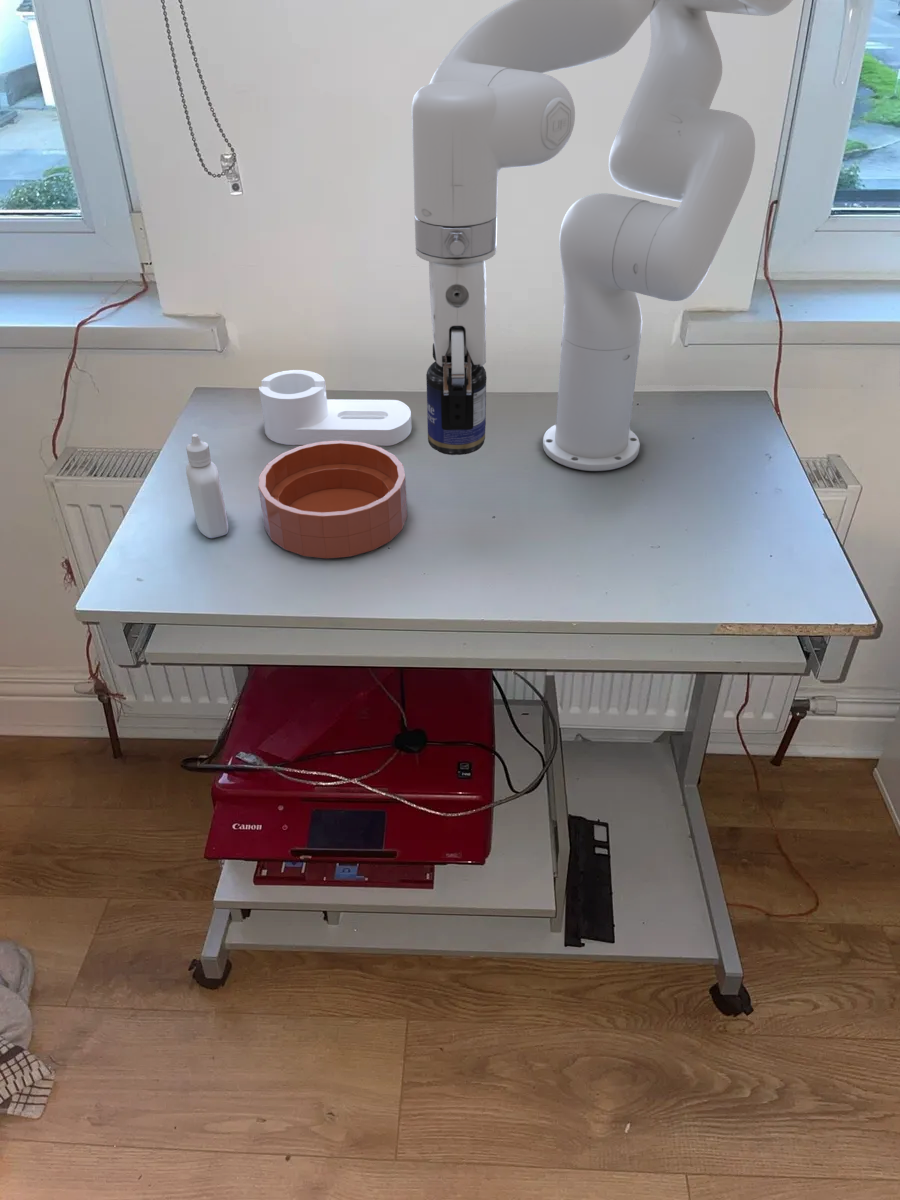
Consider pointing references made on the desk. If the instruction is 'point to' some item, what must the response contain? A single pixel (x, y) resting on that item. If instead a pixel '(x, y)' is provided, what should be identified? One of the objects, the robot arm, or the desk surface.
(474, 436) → the pill bottle
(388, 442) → the bracket
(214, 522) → the eye dropper bottle
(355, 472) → the bowl
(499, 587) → the desk surface
